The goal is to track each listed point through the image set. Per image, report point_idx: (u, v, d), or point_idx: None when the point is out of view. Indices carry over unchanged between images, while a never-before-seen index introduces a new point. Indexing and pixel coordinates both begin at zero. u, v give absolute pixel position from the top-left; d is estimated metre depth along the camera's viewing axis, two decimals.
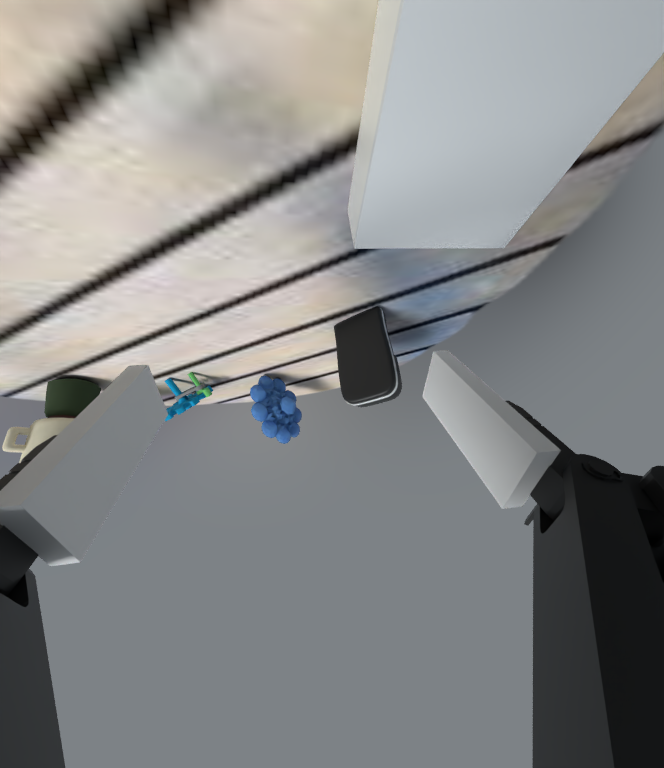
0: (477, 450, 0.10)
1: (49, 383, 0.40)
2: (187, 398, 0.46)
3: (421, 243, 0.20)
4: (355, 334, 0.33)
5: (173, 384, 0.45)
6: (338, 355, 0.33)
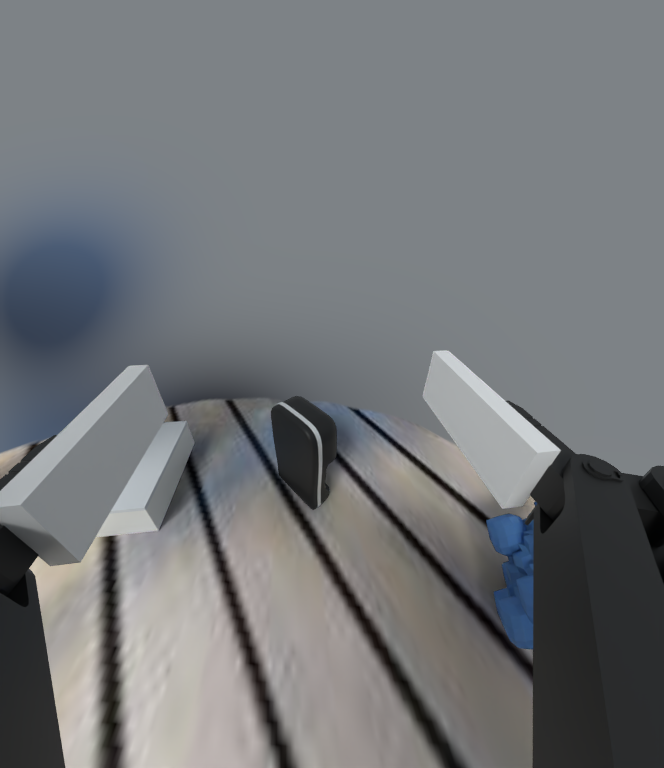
0: (477, 450, 0.10)
1: None
2: None
3: (161, 464, 0.29)
4: (294, 478, 0.29)
5: None
6: (310, 483, 0.26)
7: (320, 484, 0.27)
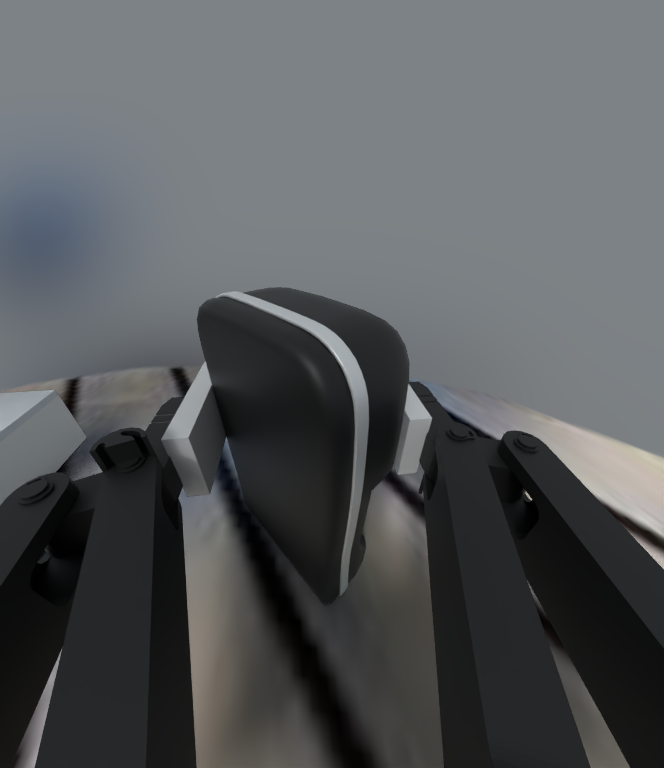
0: None
1: None
2: None
3: None
4: (276, 521, 0.11)
5: None
6: (322, 547, 0.08)
7: (350, 544, 0.09)
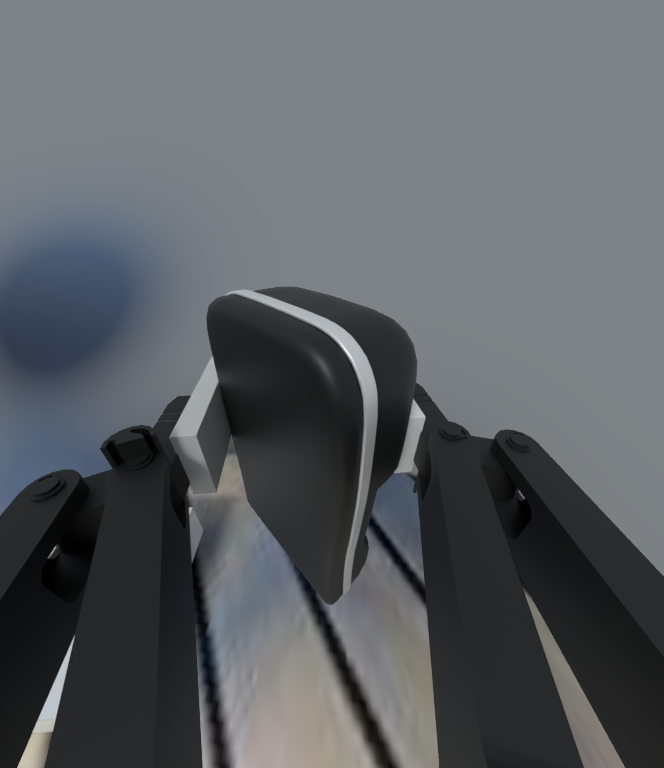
0: None
1: None
2: None
3: None
4: (280, 519, 0.11)
5: None
6: (327, 545, 0.08)
7: (355, 543, 0.09)
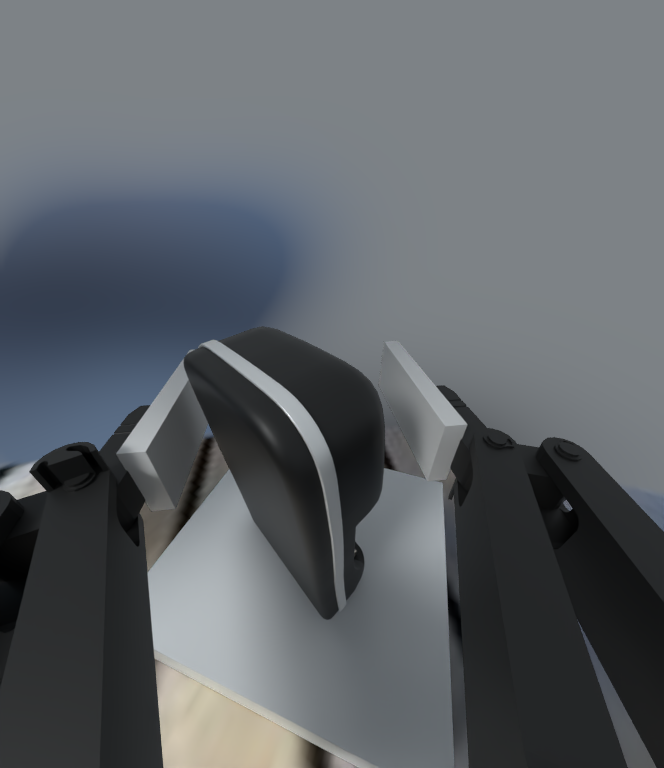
0: (411, 430, 0.11)
1: None
2: None
3: (437, 605, 0.12)
4: (276, 542, 0.12)
5: None
6: (312, 578, 0.09)
7: (341, 571, 0.09)
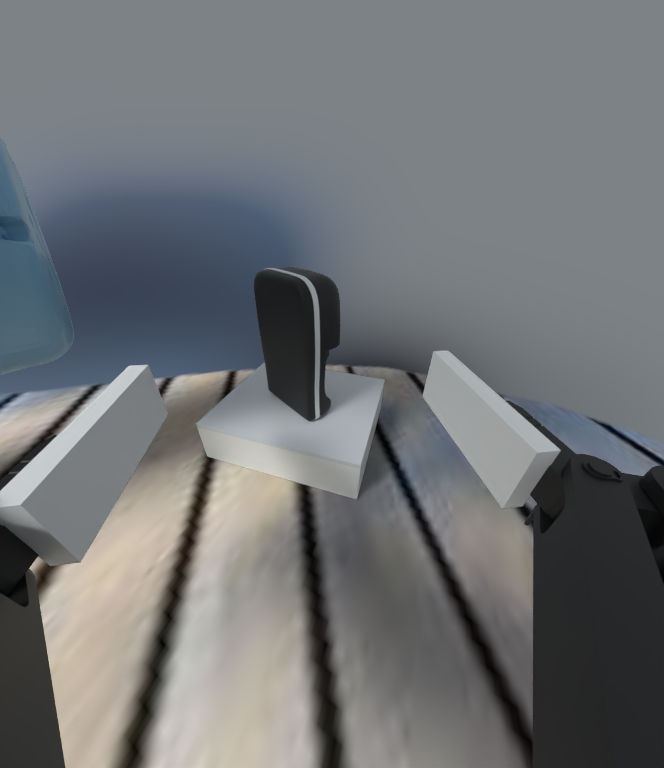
0: (477, 450, 0.10)
1: None
2: None
3: (368, 419, 0.23)
4: (285, 381, 0.22)
5: None
6: (305, 375, 0.20)
7: (318, 380, 0.21)
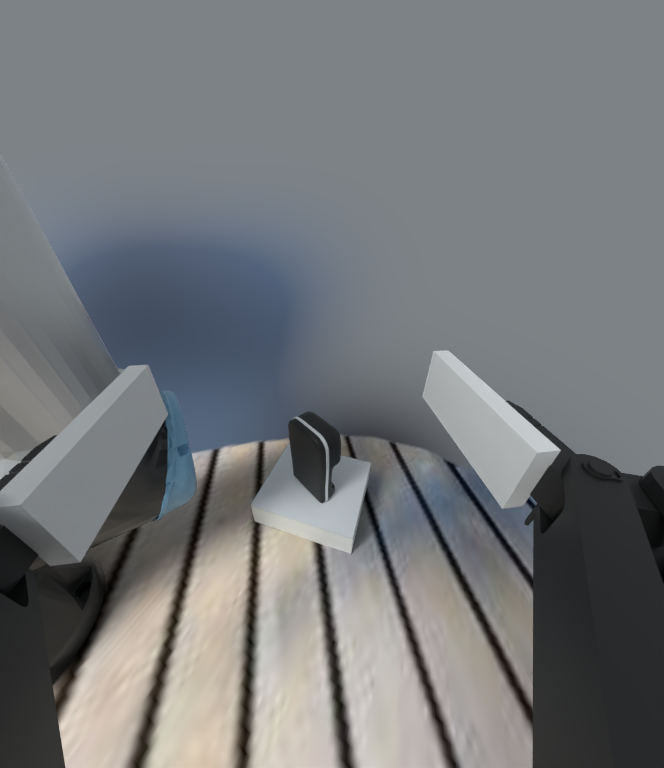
0: (477, 450, 0.10)
1: None
2: None
3: (358, 500, 0.36)
4: (306, 478, 0.36)
5: None
6: (320, 481, 0.33)
7: (327, 482, 0.34)
